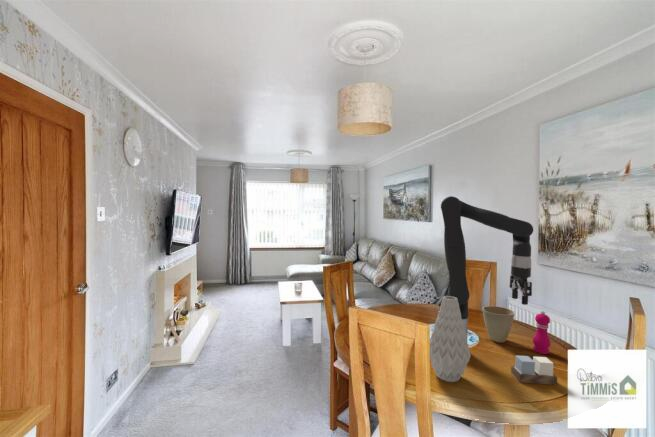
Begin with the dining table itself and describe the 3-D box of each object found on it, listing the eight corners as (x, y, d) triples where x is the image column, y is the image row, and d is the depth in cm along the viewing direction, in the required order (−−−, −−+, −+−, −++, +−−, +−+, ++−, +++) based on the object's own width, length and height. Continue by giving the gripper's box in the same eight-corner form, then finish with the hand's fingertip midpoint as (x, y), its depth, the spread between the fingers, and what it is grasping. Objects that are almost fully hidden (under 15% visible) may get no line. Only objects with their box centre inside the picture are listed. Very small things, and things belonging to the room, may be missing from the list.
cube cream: (539, 374, 124) (540, 362, 123) (532, 368, 129) (533, 356, 128) (552, 375, 123) (553, 363, 123) (545, 369, 128) (545, 357, 128)
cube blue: (521, 373, 124) (521, 361, 124) (515, 367, 129) (515, 355, 129) (534, 374, 124) (535, 362, 124) (527, 367, 129) (528, 356, 128)
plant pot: (502, 334, 171) (503, 305, 171) (519, 346, 157) (521, 315, 156) (476, 333, 171) (477, 305, 170) (491, 345, 156) (492, 314, 156)
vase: (430, 362, 138) (433, 289, 137) (471, 372, 130) (474, 296, 129) (421, 379, 124) (424, 299, 123) (466, 393, 115) (469, 306, 114)
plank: (519, 382, 123) (519, 374, 123) (511, 372, 130) (511, 365, 130) (556, 384, 122) (557, 377, 122) (546, 375, 129) (546, 368, 129)
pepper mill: (545, 355, 146) (546, 314, 146) (529, 349, 153) (530, 309, 152) (553, 352, 150) (555, 312, 149) (537, 346, 156) (539, 307, 155)
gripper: (504, 262, 145) (503, 296, 146) (520, 268, 131) (518, 306, 131) (521, 263, 144) (520, 297, 145) (539, 269, 130) (537, 307, 131)
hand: (519, 301), depth 138 cm, fingers open, 8 cm apart
